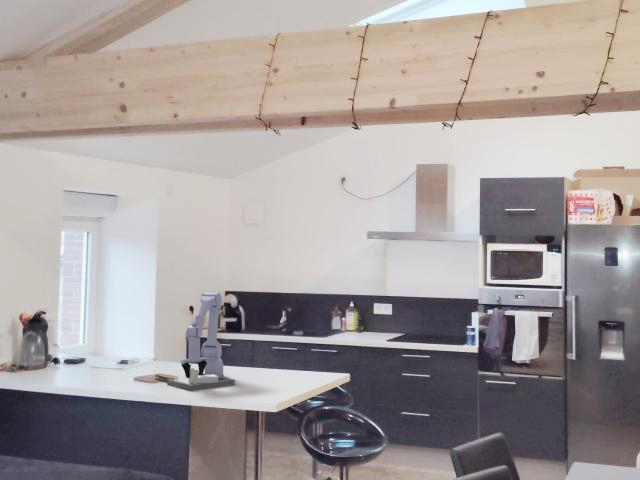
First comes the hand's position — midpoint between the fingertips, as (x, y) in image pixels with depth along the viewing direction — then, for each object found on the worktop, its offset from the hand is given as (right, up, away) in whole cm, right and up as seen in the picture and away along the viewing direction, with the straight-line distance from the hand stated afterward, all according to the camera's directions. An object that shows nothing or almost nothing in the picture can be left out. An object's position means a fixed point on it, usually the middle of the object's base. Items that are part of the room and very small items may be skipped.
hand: (194, 376), depth 384 cm
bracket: (+5, -3, -2) cm, 6 cm away
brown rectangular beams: (-9, -3, +11) cm, 14 cm away
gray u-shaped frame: (+4, -3, -5) cm, 7 cm away
